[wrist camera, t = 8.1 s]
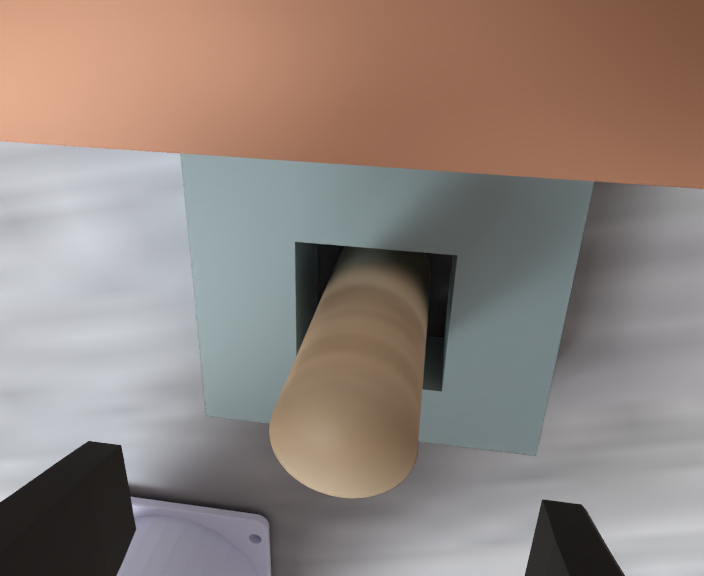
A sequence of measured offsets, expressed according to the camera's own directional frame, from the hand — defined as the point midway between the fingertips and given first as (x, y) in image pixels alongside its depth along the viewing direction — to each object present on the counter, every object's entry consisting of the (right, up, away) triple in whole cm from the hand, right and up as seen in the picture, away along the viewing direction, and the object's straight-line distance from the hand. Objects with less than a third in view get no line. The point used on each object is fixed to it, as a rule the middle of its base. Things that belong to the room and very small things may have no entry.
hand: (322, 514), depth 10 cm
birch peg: (+1, +4, +9) cm, 10 cm away
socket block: (+2, +7, +8) cm, 10 cm away
